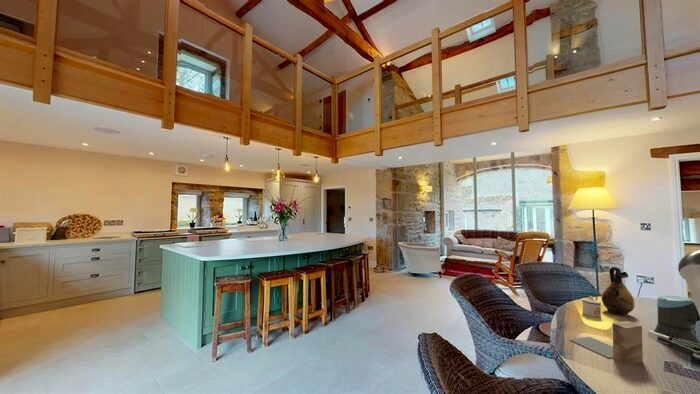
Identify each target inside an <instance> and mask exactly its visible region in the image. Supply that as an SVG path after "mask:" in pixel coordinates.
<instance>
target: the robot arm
mask: <svg viewBox="0 0 700 394" xmlns="http://www.w3.org/2000/svg"><path fill="white" fill-rule="evenodd" d="M677 267H678V268H677V269H678V273H679V276H680V277H681V278H682V279H684V280H685V282H686V285H687V287H688V289H689V292H690V294H691V297H692V299H691V298H689V297H684V296H680V295H679V296H678V295H660V296H658V297H657V300H656V301H657V302H656V303H657V304H656V306H657V324H656V327H655V329H654V330H653V331H652V330H647V337H648V339H650V340H651V339H652V340H655V341H657V342H659V343H662V344H664V345H667V347H668V348H671V349H673V350H675V351H677V352H680V353H682V354H684V355H687V356H689V357H692V358H693V359H695V360H698V361H700V249H698V250H695V251H694V250H693V251H692V252H689V253H687V254H685V255H684V256H683V257H682V258H681V259H680V261H679V263H678V265H677ZM694 329H695V330H694ZM694 331H695V332H694Z"/></svg>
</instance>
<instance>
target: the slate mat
mask: <svg viewBox="0 0 700 394" xmlns="http://www.w3.org/2000/svg"><path fill="white" fill-rule="evenodd" d="M570 340H571V341H570ZM569 341H570V342H572V341H573V342H572V343H574V344H576V345H579V346H581V347H582V348H585V349H587V350H589V351H592V352H594V353H596V354H598V355H600V356H602V357H605V358H606V359H613V345H610V344H608V343H606V342H603V341H601V340H598V339H596V338H593V337H591V336H586V337H578V338H577V337H576V338H571V339H569Z"/></svg>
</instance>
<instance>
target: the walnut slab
mask: <svg viewBox="0 0 700 394" xmlns="http://www.w3.org/2000/svg"><path fill="white" fill-rule="evenodd" d="M612 346H613V358H612V359H613V360H615V361H617V362H619V363H621V364H624V365H626V366H630V365H634V364H641V363H643V362H644V361H643V360H644V359H643V357H644V353H643V350H644V349H643V326H642V325H640V324H637V323H634V322H632V321H629V320H628V321H626V320H625V321H621V322H619V321H618V322H612ZM640 362H641V363H640Z"/></svg>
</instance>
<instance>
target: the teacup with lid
mask: <svg viewBox="0 0 700 394" xmlns="http://www.w3.org/2000/svg"><path fill="white" fill-rule="evenodd" d="M581 301H582V313H583V315H585V316H588V317H591V318H601V315H602V314H601V313H602V312H601V309H602V308H601V305H602V303H601V302H602V301H599V300H597V299H596V298H594V297H593V296H588V297H585V298H584V297H583V298H582V299H581Z"/></svg>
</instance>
